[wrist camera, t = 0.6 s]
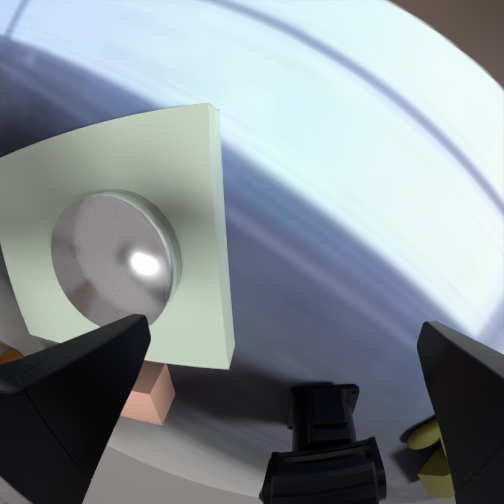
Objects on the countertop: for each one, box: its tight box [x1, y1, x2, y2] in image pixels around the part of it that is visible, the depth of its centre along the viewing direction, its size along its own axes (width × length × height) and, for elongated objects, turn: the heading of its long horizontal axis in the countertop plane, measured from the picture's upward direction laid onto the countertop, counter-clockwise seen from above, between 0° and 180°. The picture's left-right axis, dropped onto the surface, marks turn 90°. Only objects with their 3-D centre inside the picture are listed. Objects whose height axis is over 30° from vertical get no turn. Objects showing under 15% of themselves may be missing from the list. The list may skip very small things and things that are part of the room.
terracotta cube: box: [121, 360, 175, 425], centre depth 24 cm, size 4×4×4 cm
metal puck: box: [51, 189, 183, 327], centre depth 17 cm, size 9×9×2 cm
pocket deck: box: [0, 103, 235, 369], centre depth 20 cm, size 18×22×3 cm
